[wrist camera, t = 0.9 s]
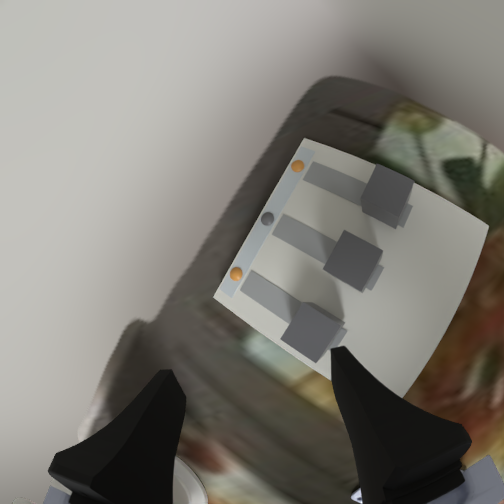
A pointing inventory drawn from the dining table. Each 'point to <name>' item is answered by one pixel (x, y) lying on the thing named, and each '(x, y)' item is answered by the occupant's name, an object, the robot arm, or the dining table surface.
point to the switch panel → (339, 293)
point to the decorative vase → (184, 487)
